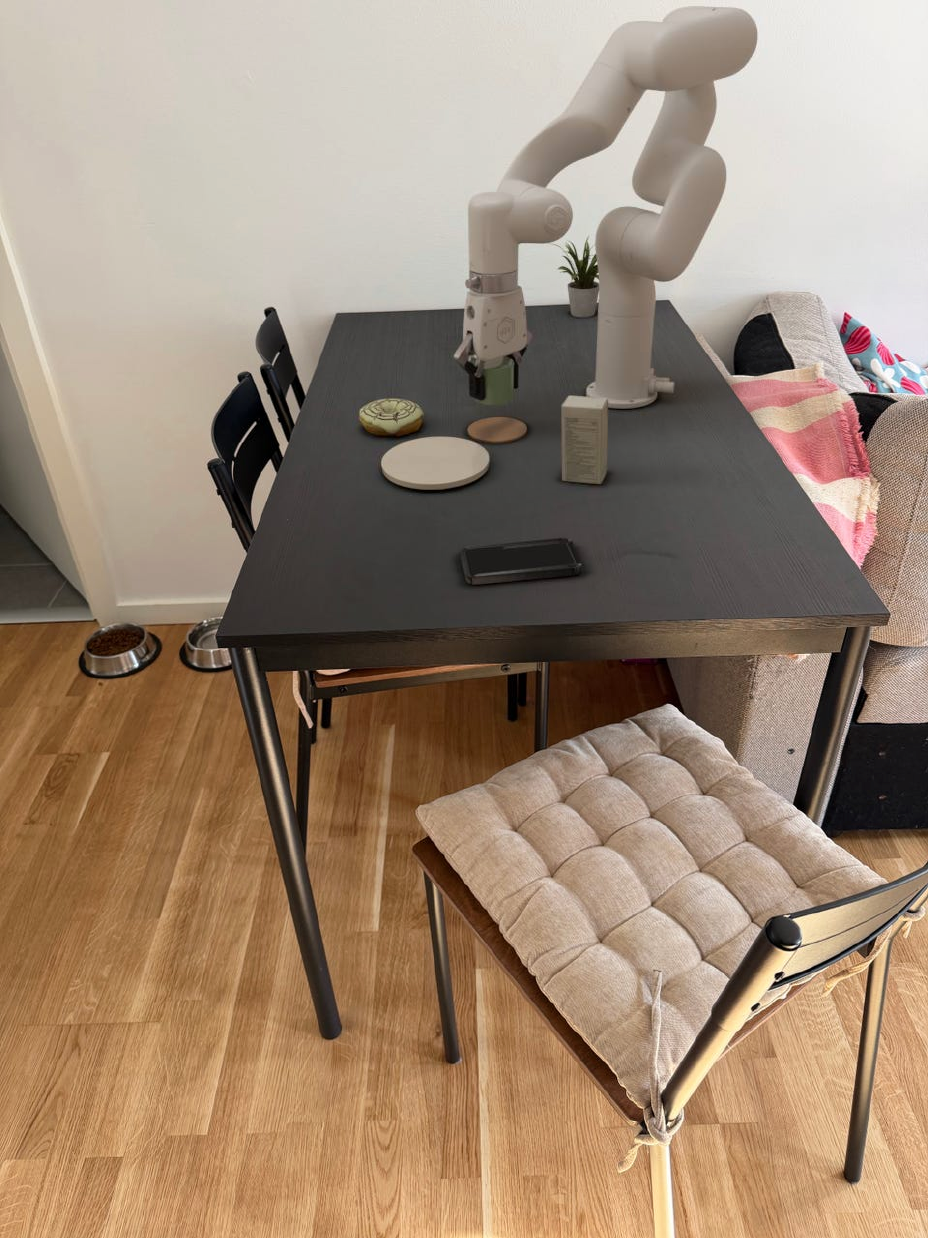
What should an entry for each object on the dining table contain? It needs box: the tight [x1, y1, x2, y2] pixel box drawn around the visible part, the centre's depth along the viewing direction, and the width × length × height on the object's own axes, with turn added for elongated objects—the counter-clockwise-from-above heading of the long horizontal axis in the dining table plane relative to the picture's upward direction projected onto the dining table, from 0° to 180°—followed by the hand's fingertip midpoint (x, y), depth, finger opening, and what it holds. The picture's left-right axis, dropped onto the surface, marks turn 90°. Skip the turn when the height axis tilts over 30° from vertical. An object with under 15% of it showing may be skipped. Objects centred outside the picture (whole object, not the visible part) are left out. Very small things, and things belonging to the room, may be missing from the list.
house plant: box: [546, 235, 599, 318], centre depth 205 cm, size 14×14×16 cm
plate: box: [380, 436, 491, 491], centre depth 149 cm, size 17×17×2 cm
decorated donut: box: [359, 397, 425, 437], centre depth 162 cm, size 10×11×4 cm
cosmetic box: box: [560, 394, 609, 485], centre depth 141 cm, size 6×4×12 cm
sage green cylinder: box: [473, 356, 515, 406], centre depth 155 cm, size 7×7×6 cm
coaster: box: [467, 416, 528, 444], centre depth 160 cm, size 10×10×1 cm
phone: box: [460, 537, 582, 586], centre depth 124 cm, size 8×1×15 cm
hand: (494, 391), depth 156 cm, fingers closed on sage green cylinder, 6 cm apart
